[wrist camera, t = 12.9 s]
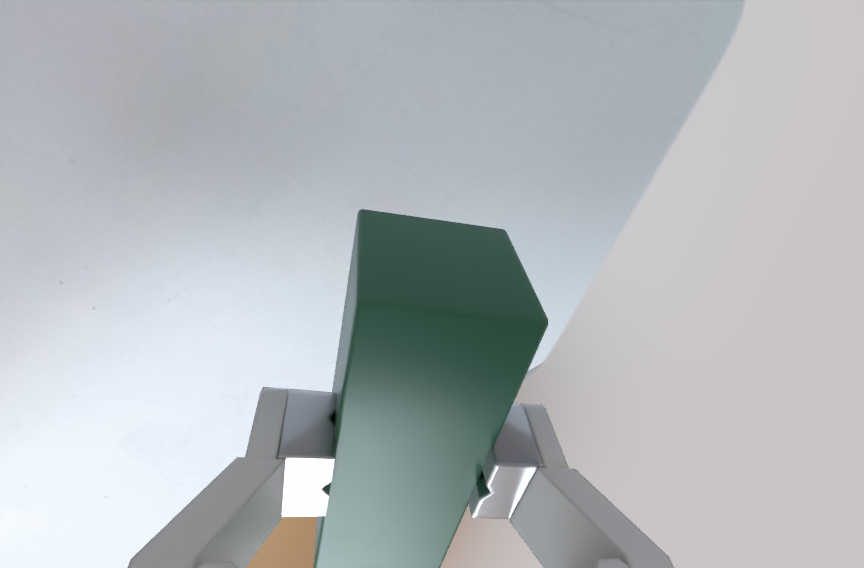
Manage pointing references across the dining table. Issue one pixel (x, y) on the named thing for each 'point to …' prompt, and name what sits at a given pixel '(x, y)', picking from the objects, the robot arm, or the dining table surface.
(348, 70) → the dining table surface
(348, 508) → the green rectangular prism
